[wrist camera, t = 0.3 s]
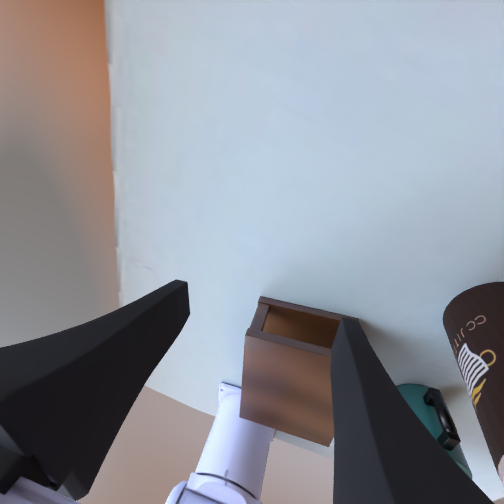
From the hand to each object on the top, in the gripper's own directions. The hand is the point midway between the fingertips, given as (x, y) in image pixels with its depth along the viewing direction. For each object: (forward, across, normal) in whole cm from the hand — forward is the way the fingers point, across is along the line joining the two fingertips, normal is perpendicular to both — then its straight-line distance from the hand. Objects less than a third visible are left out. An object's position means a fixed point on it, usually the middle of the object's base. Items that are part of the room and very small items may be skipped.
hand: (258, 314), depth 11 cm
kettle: (+10, -15, +16) cm, 24 cm away
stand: (+10, -3, +13) cm, 17 cm away
